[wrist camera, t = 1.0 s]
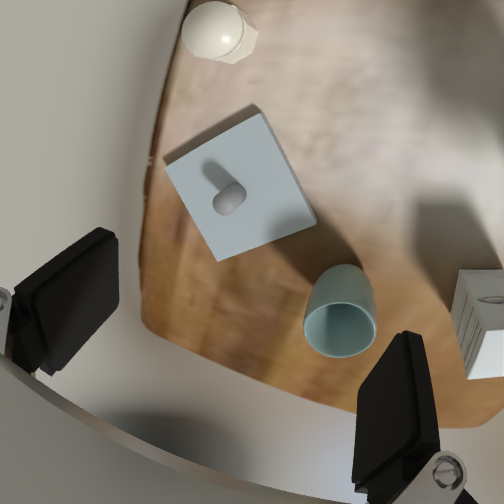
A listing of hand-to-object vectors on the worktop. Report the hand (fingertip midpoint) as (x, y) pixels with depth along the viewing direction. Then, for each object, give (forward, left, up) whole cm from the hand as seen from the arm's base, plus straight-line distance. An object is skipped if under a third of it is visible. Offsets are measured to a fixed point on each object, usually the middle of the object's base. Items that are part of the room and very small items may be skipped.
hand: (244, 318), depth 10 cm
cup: (+4, +16, -29) cm, 33 cm away
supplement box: (-13, +24, -29) cm, 40 cm away
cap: (+3, -17, -29) cm, 34 cm away
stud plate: (+11, 0, -29) cm, 31 cm away
